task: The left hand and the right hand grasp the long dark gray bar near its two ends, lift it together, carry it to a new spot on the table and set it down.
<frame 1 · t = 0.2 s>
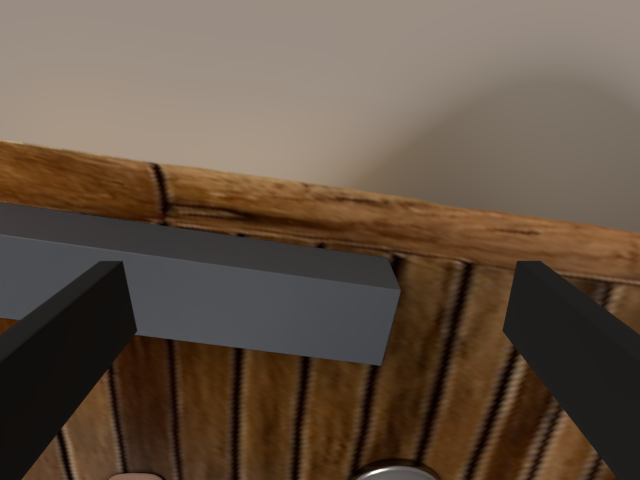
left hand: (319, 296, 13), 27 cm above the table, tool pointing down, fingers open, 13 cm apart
long dark gray bar: (55, 247, 41), on the table
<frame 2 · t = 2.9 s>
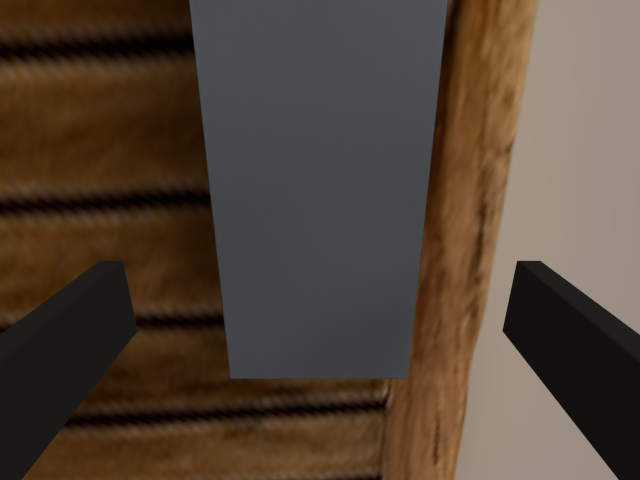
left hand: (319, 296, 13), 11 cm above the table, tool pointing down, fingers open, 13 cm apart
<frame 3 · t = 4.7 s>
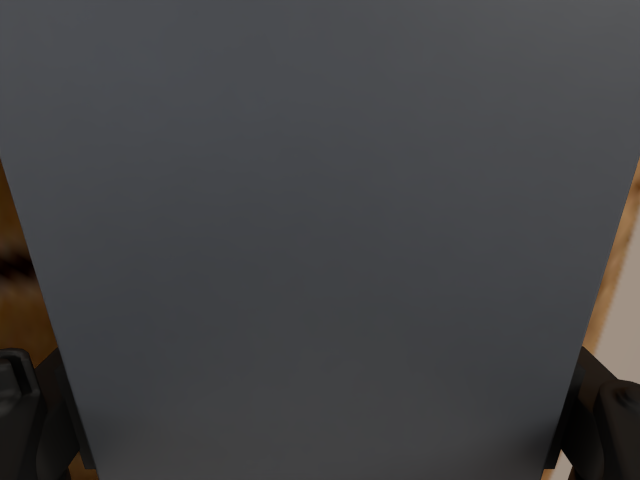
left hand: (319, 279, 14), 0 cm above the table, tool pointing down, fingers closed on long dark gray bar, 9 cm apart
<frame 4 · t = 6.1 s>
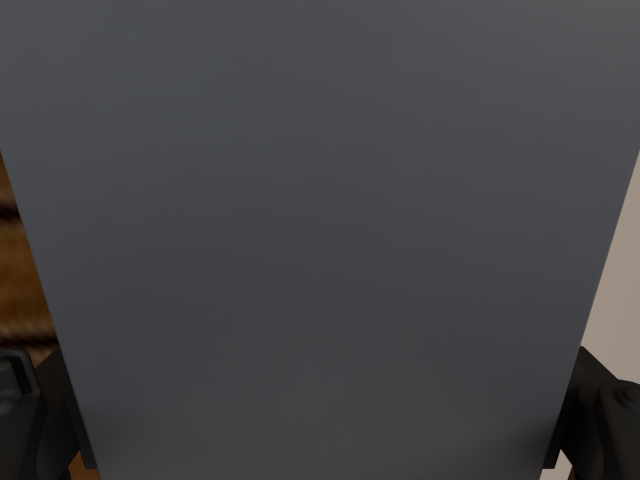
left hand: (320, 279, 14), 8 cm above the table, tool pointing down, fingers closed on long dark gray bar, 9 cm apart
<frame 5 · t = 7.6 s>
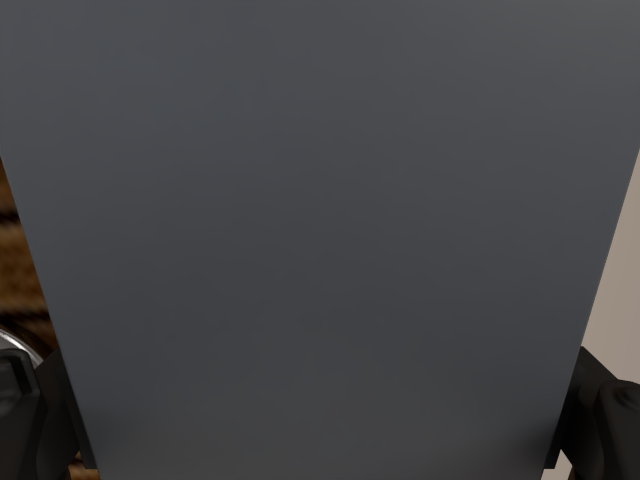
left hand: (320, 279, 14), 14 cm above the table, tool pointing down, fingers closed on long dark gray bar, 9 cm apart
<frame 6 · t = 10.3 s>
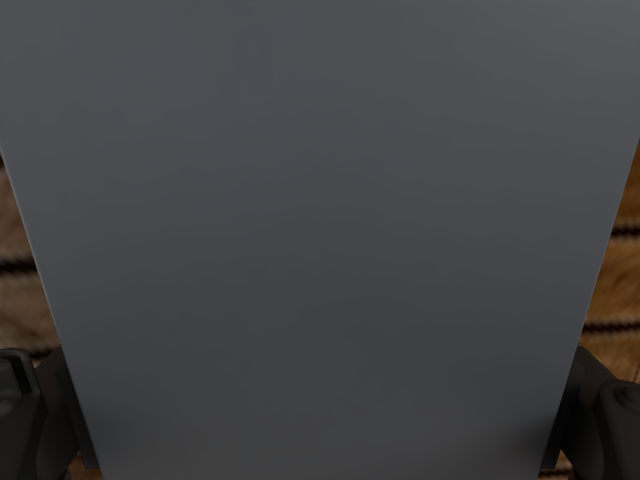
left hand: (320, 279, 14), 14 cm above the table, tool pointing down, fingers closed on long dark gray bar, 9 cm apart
when the left hand's fingers open (2 cm above the table, at t = 12.5 s): long dark gray bar drops 1 cm, on the table.
when the right hand's fingers open (2 cm above the table, at t = 12.5 s): long dark gray bar drops 1 cm, on the table.
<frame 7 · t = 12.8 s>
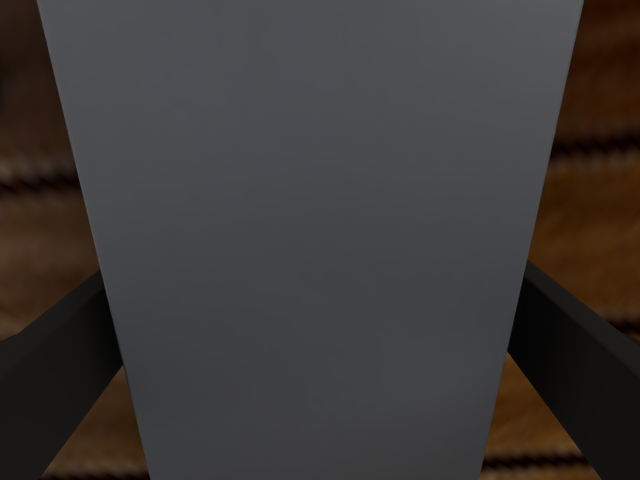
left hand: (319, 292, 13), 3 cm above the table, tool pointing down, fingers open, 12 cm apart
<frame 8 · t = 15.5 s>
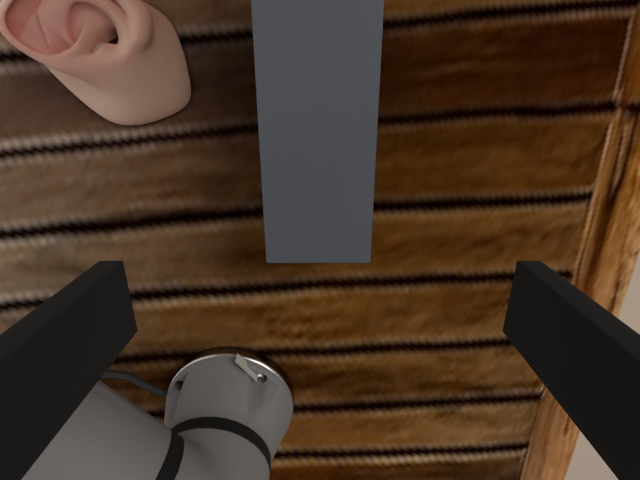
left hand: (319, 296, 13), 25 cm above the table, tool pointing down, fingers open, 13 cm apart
anatomical model: (116, 55, 33), on the table
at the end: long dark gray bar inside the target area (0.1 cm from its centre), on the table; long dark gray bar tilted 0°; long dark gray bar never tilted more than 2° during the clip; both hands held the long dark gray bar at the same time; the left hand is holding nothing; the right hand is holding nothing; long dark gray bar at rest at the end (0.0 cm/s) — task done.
